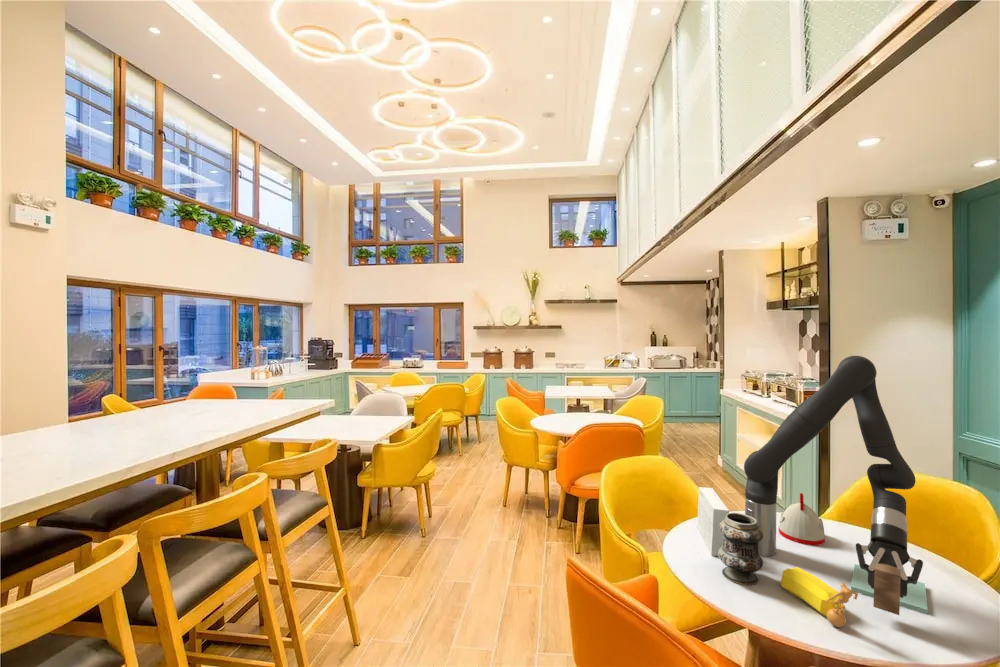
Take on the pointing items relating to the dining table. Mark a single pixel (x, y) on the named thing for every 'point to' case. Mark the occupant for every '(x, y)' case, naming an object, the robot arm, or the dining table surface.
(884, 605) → the walnut block
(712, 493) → the skincare box
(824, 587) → the yellow faceted bar
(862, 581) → the teal board
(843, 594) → the figurine
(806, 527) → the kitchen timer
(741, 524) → the apothecary jar
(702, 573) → the dining table surface
